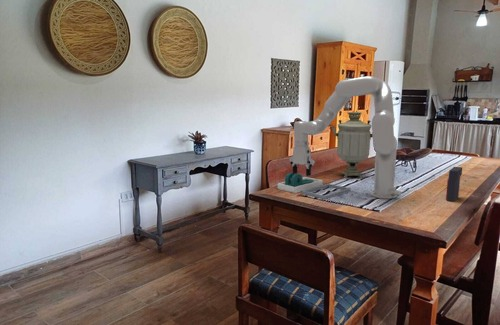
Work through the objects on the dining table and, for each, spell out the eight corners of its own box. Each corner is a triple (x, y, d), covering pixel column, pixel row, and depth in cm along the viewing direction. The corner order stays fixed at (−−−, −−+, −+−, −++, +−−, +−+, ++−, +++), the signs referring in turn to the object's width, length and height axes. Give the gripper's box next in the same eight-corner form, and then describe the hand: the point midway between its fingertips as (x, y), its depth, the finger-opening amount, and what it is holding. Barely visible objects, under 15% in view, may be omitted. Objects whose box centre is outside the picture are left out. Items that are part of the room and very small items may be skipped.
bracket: (293, 189, 194) (294, 175, 193) (285, 187, 199) (285, 173, 198) (316, 184, 205) (316, 170, 204) (307, 182, 210) (307, 168, 209)
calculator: (450, 195, 181) (452, 166, 178) (459, 197, 178) (462, 167, 175) (445, 200, 172) (447, 169, 170) (455, 202, 170) (458, 170, 167)
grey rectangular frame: (350, 191, 192) (350, 188, 192) (324, 199, 178) (324, 196, 177) (328, 186, 203) (328, 183, 203) (301, 193, 188) (301, 190, 188)
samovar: (381, 173, 235) (384, 111, 228) (374, 181, 212) (377, 113, 205) (335, 169, 248) (337, 111, 241) (324, 177, 226) (326, 112, 218)
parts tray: (322, 185, 205) (322, 180, 205) (294, 193, 190) (294, 187, 190) (305, 181, 215) (305, 176, 214) (277, 188, 199) (277, 183, 199)
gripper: (318, 144, 194) (318, 175, 197) (293, 142, 207) (294, 171, 210) (309, 145, 189) (309, 177, 192) (284, 143, 202) (285, 173, 205)
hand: (301, 174), depth 201 cm, fingers open, 9 cm apart
